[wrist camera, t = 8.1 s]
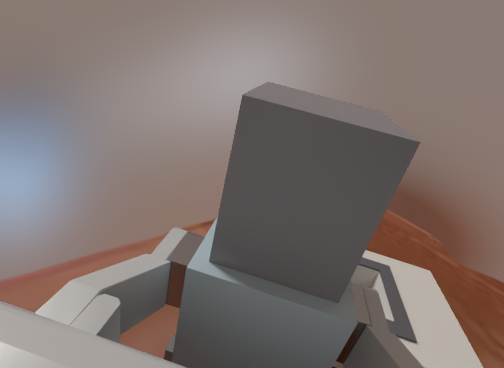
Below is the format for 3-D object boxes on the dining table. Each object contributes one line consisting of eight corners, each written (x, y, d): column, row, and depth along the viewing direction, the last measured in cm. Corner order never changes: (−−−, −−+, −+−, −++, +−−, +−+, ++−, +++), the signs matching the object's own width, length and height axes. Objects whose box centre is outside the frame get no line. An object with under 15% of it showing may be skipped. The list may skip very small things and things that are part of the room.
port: (415, 291, 31) (431, 267, 29) (470, 415, 20) (500, 389, 18) (258, 239, 32) (265, 214, 31) (230, 329, 21) (239, 298, 20)
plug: (269, 387, 14) (391, 112, 8) (255, 500, 11) (454, 156, 4) (194, 361, 14) (257, 77, 8) (155, 461, 11) (214, 91, 5)
